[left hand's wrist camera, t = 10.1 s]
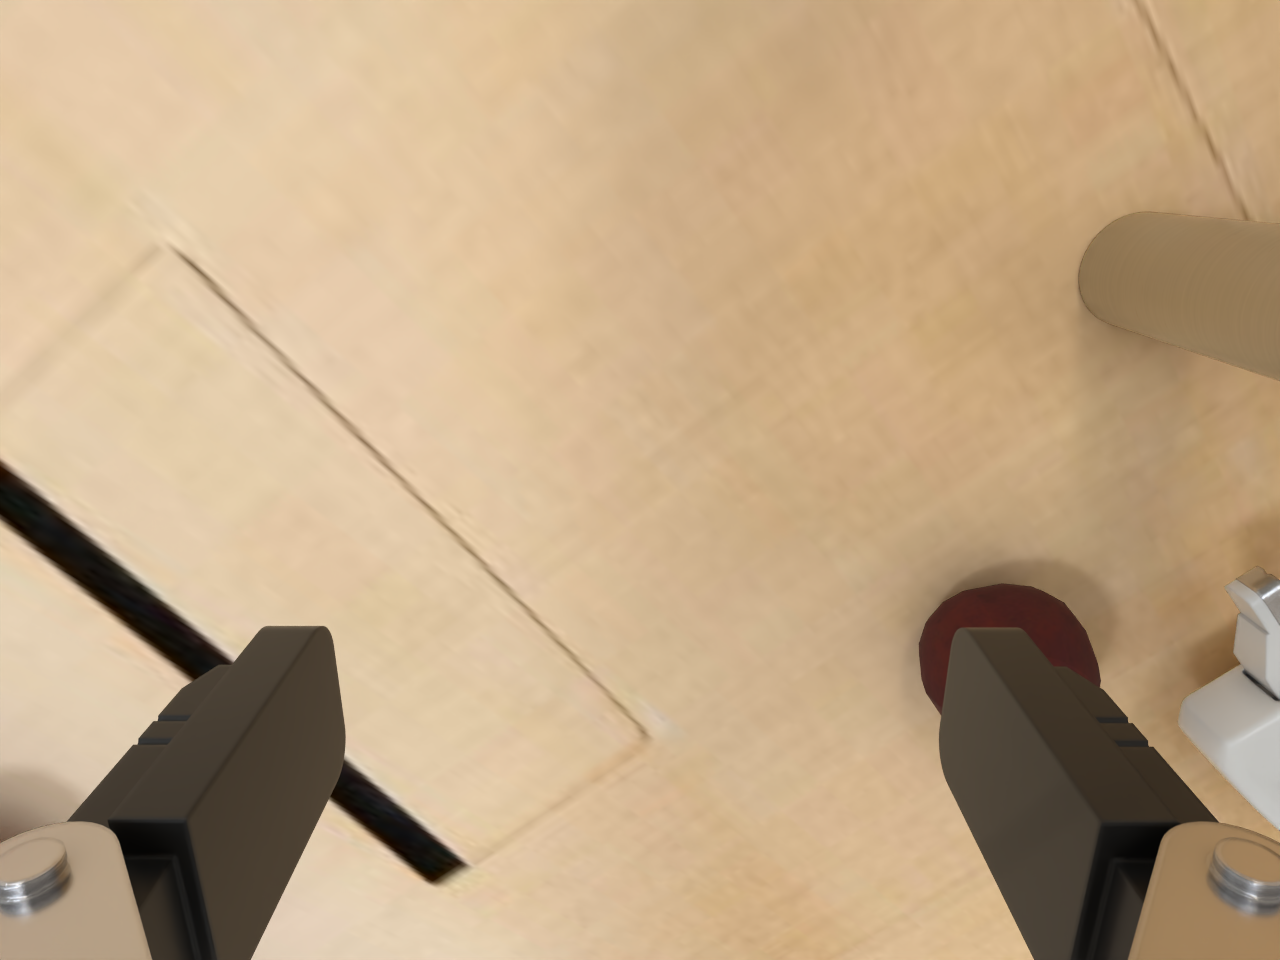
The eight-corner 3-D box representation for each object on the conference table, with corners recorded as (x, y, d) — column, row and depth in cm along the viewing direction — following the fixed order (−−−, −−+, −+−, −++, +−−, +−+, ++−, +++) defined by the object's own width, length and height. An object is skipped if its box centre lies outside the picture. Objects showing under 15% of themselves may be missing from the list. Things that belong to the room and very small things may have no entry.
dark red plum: (1005, 713, 44) (1070, 809, 38) (871, 659, 43) (913, 748, 37) (1088, 594, 42) (1171, 674, 36) (948, 533, 41) (1007, 604, 35)
